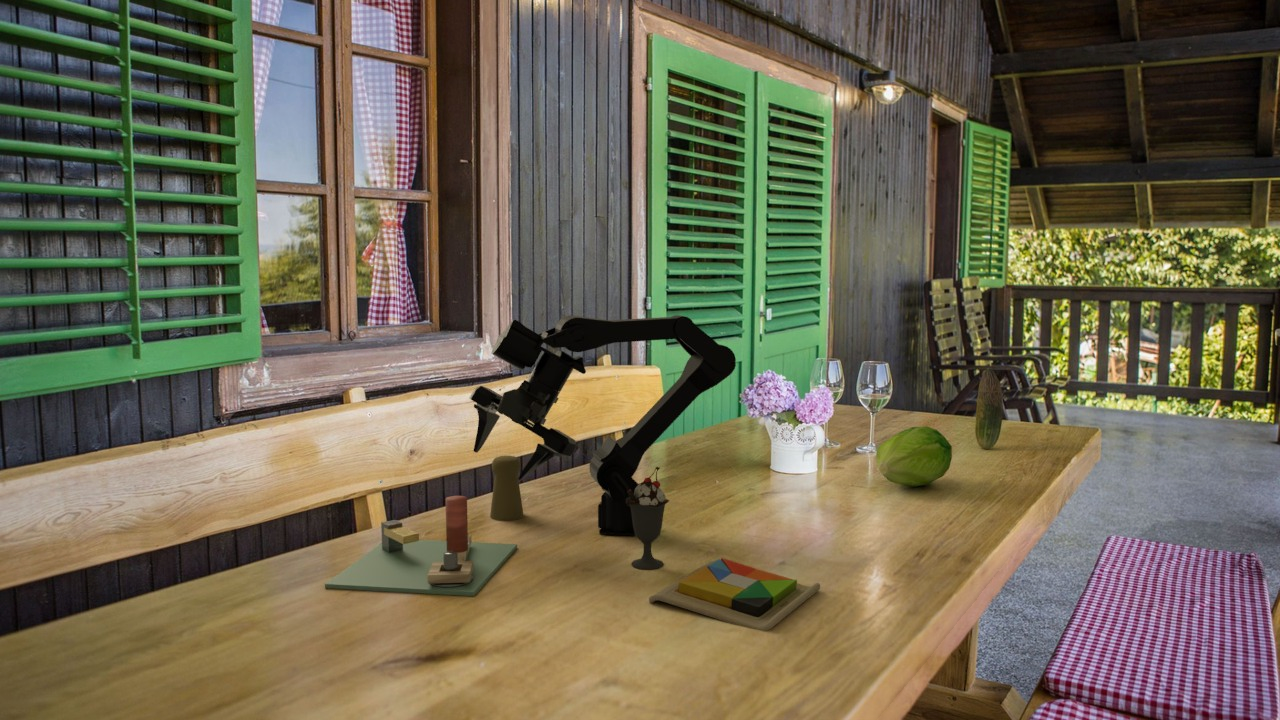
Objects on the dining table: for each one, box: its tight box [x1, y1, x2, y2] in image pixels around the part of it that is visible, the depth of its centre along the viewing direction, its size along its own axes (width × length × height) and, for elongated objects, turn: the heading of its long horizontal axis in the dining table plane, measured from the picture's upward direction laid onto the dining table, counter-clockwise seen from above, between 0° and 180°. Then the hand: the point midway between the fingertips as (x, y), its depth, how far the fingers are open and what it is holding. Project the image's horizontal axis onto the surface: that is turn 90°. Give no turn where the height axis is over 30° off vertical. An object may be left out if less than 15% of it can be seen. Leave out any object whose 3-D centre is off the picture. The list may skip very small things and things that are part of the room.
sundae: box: [626, 466, 670, 571], centre depth 143 cm, size 7×7×15 cm
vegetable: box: [974, 367, 1004, 450], centre depth 230 cm, size 6×6×20 cm
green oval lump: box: [875, 426, 953, 487], centre depth 191 cm, size 14×20×12 cm
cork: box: [489, 455, 525, 522], centre depth 170 cm, size 6×6×11 cm
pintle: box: [429, 551, 474, 588], centre depth 135 cm, size 6×6×5 cm
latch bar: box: [428, 495, 473, 583], centre depth 141 cm, size 19×6×9 cm, turn 5°
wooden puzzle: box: [648, 557, 821, 632], centre depth 130 cm, size 18×19×4 cm
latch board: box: [324, 539, 518, 597], centre depth 143 cm, size 22×22×1 cm
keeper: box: [380, 519, 420, 553], centre depth 147 cm, size 8×3×5 cm, turn 41°
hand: (497, 465), depth 155 cm, fingers open, 9 cm apart
